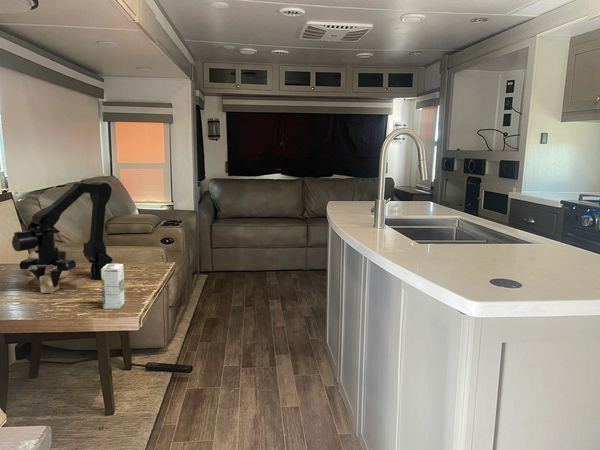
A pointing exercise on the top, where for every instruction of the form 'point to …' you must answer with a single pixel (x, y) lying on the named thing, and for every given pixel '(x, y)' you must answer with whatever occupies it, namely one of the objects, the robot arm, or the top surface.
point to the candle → (32, 255)
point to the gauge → (49, 282)
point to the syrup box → (113, 286)
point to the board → (61, 282)
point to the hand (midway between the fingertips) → (50, 286)
